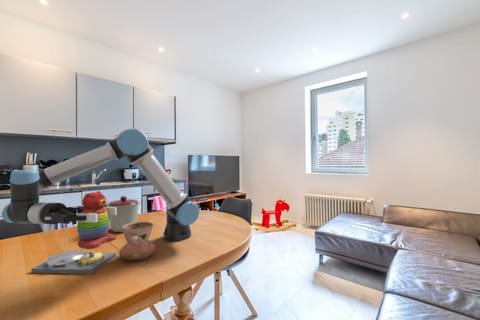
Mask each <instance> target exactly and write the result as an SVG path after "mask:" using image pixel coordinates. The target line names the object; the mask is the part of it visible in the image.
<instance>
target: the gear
mask: <svg viewBox="0 0 480 320" xmlns="http://www.w3.org/2000/svg"><path fill="white" fill-rule="evenodd" d="M88 253H89V251H88V250H85V251H83V248H80V249H76V250H69V251H68V250H65V251H63V252H61V253H57V254H55V255H53V254H52V255H49V256H48V257H47V260H43V261H42V263H43V266H48V269H53V268H55V267H62V266H65V267H67V266H70V264H73V263H76V262H78V259H79V258H82V257H84V256H85V255H86V254H88Z"/></svg>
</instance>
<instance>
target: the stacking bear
mask: <svg viewBox="0 0 480 320" xmlns="http://www.w3.org/2000/svg"><path fill="white" fill-rule="evenodd" d="M81 203H82V206H83V207H84V208H85V209H84V210H83V211H82V212H81V213H97V222H78V221H77V226H76V227H77V233H78V237H79V240H78V242H77V246H78V247H79V248H80V249H82V250H83V249H85V250H93V249H97V248H99V247H100V246H101V245H103V244H106V243H110V242H113V241H115V240H116V239H117V238H116V237H117V236H116V235H115V234H112V233H109V227H110V219H109V215H108V213H107V211H106V209H105V208H104V207H105V206H106V205H107V197H106V196H105V195H104V194H103V193H102V192H101V191H96V192H94V191H93V192H90V193H85V194H84V196H83V198H82V201H81Z"/></svg>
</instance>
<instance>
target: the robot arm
mask: <svg viewBox="0 0 480 320" xmlns="http://www.w3.org/2000/svg"><path fill="white" fill-rule="evenodd" d="M153 153H154V148H153V147H152V146H151V143H149V140H148V137H147V135H146V134H145V133H144V132H143V131H141V130H139V129H137V128H127V129H125V130H122V132H120V133H119V134H118V136H116V137H115V138H113V139H112V140H110V141H107V142H106V144H105V145H102V146H99V147H97V148H95V149H94V148H93V149H92V150H89V151H87V152H84V153H82V154H79V155H77V156H74V157H72V158H69V159H67V160H64V161H62V162H60V163H59V162H58V163H56V164H53V165H51V166H49V167H46V168H43V169H41V170H37V169H21V170H20V169H18V170H13V171H11V172H10V179H9V182H10V183H9V184H10V202H9V203H8V204H6V205H5V206H4V208H3V210H2V211H1V217H2V219H3V220H4V221H5V222H6V223H11V224H16V225H18V224H19V225H21V224H25V225H26V224H27V225H28V224H32V225H33V224H35V225H36V224H37V225H38V224H39V225H40V226H43V225H45V224H46V225H57V224H58V225H59V224H63V225H65V224H66V225H68V224H70V223H71V225H76V224H78V222H97V213H81V212H82V211H83V210H84V209H85V208H84V206H83V205H81V206H79V205H78V206H77V207H75V206H73V207H72V206H66V205H65V204H64V203H62V202H45V201H44V202H40V192H41V191H42V190H44V189H47V188H50V187H52V186H53V185H57V184H58V183H60V182H63V181H66V180H68V179H69V178H73V177H75V176H78V175H80V174H82V173H84V172H87V171H89V170H92V169H94V168H97V167H98V166H101V165H104V164H105V163H108V162H110V161H113V160H120V159H123V158H126V159H127V161H128V162H129V163H130V164H131V165H136V166H137V167H138V168H139V170H140V171H141V173H143V175H144V176H145V177H146V179H147V180H148V182H150V184H151V185H152V186H153V187H154V189H155V190H156V191H157V193H158V194H159V195H160V196H161V197H162V199H163V200H164V201H165V204H166V205H165V206H166V207H165V208H166V224H165V227H164V231H163V234H162V237H163V238H162V239H163V240H165V241H170V242H176V241H177V242H178V241H183V240H187V239H189V238H190V237H192V230H191V227H190V226H191V225H192V224H194V223H195V222H196V221H197V220H198V219H199V215H200V207H199V206H198V205H197V203H196V202H194V201H192V199H191V198H190V196H189V195H188V194H187V193H186V192H182V191H181V190H180V189H179V187H178V186H177V185H176V183H175V182H174V180H173V179H172V178H171V177H170V175H169V174H168V173H167V171H166V169H165V168H164V167H163V166H162V164H161V163H160V161H159V160H158V159H157V158H156V156H155V155H154V154H153ZM104 208H105V209H106V211H107V213H108V216H109V215H117V207H107V206H106V207H105V206H104Z"/></svg>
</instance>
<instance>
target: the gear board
mask: <svg viewBox="0 0 480 320" xmlns="http://www.w3.org/2000/svg"><path fill="white" fill-rule="evenodd" d="M116 256H117V253H116V252H101V251H98V252H95V251H94V250H91V251H88V254H86V255H85V256H84V257H82V258H79V259H78V262H76V263H73V264H70V266H67V267H65V266H62V267H55V268H53V269H48V266H43V262H42V263H40V264H38V265H36V266H34V267H31V268H30V269H31V271H30V272H31V273H33V274H34V273H35V274H38V273H39V274H40V273H44V274H45V273H46V274H84V275H85V274H87V275H88V274H93V273H94V272H96V271H98V270H99V269H100V268H101V267H103V266H104V265H106V264H107V263H108V262H110V261H111V260H113V259H114V258H115V257H116Z"/></svg>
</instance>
